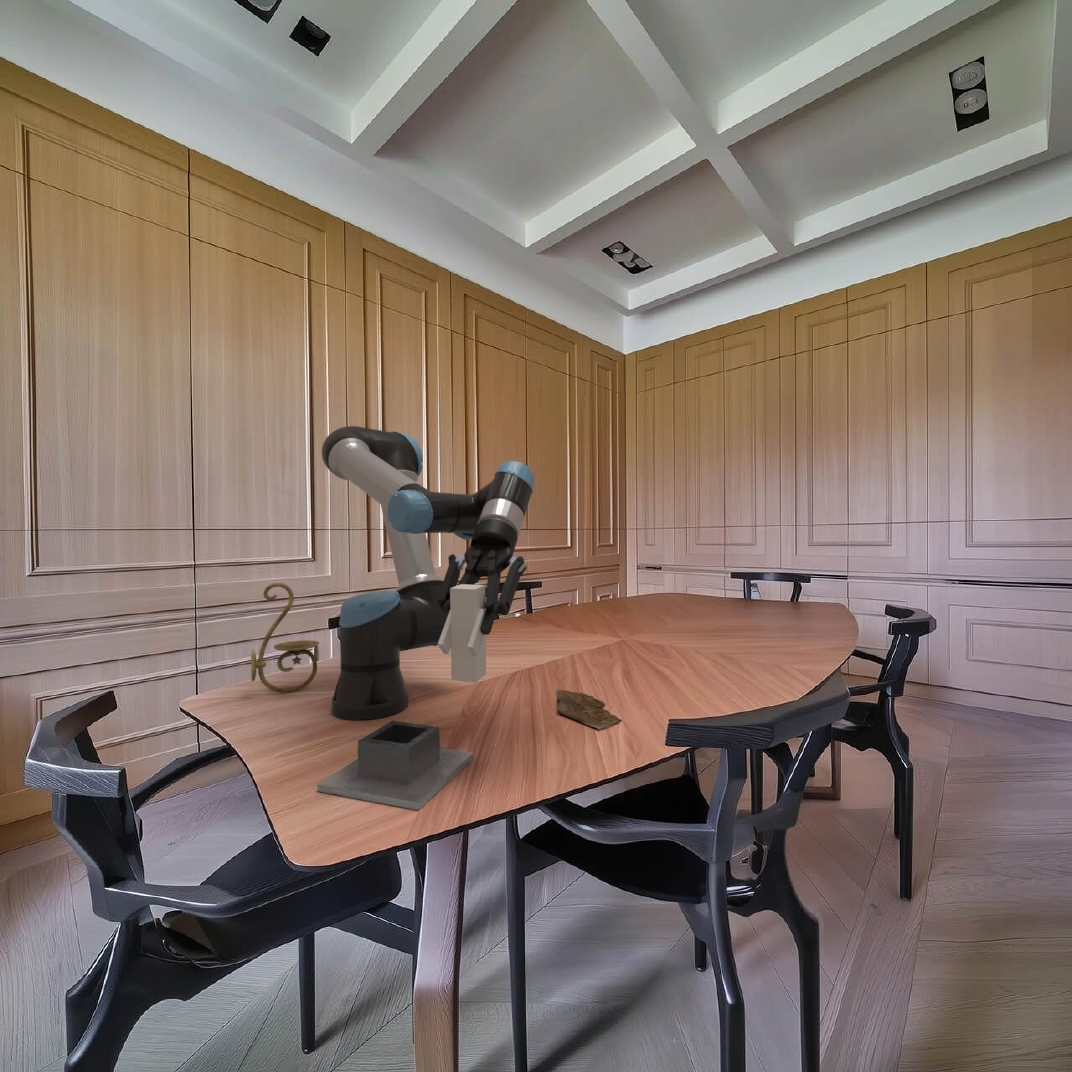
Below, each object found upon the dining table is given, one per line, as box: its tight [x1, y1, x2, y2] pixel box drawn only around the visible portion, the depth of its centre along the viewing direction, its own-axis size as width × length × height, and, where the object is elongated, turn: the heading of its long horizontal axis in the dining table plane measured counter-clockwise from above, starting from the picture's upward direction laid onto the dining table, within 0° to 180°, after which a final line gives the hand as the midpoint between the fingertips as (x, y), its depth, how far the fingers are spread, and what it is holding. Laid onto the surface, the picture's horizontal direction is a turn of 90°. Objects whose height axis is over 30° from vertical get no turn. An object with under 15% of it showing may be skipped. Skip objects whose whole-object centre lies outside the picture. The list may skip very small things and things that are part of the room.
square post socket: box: [316, 720, 474, 811], centre depth 76 cm, size 16×16×6 cm
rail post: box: [450, 584, 487, 683], centre depth 79 cm, size 4×4×14 cm
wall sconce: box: [250, 582, 320, 693], centre depth 117 cm, size 14×10×25 cm
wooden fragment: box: [556, 689, 623, 732], centre depth 105 cm, size 26×11×1 cm, turn 12°
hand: (457, 650), depth 75 cm, fingers closed on rail post, 4 cm apart
